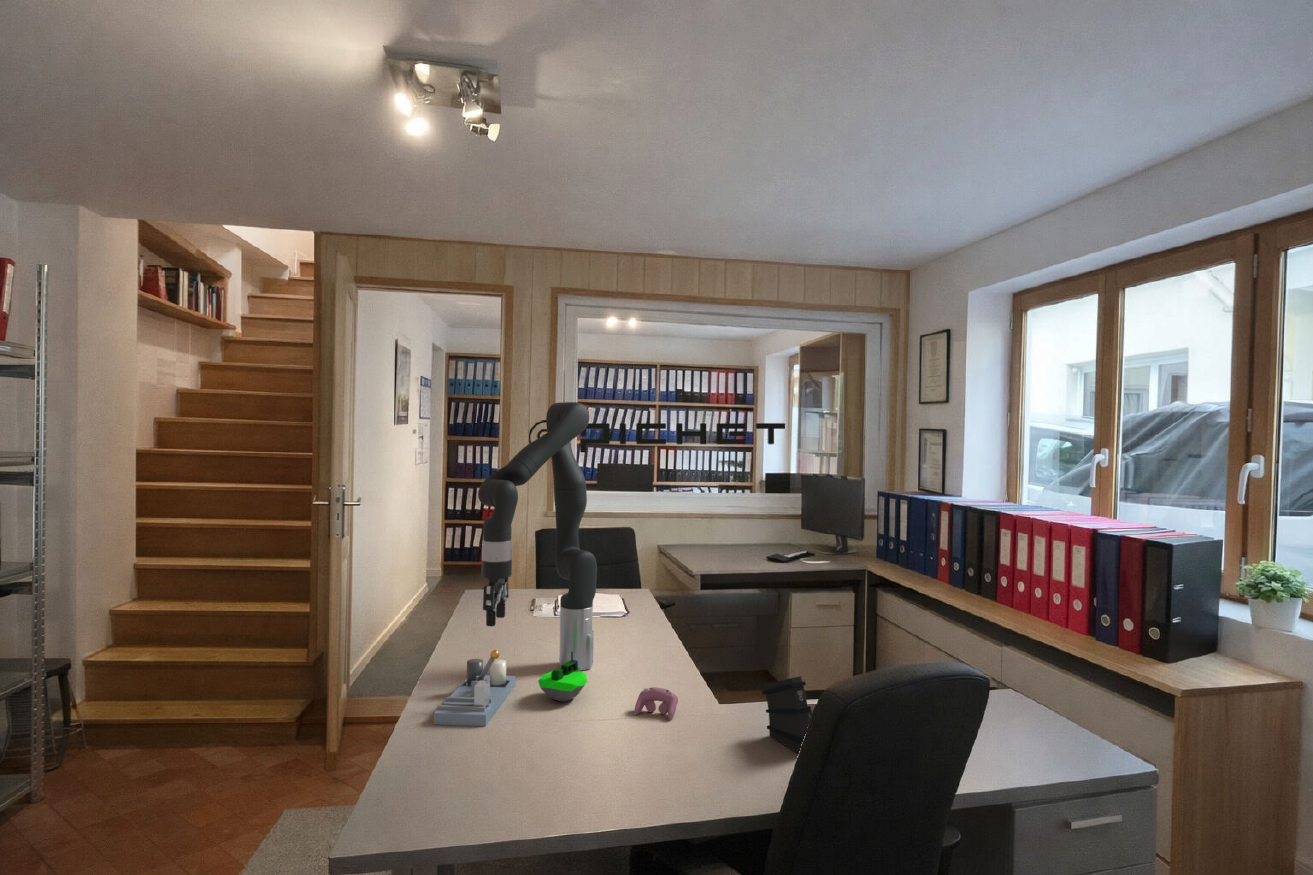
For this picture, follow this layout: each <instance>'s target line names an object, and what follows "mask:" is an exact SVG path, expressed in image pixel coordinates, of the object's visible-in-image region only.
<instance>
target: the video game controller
mask: <svg viewBox="0 0 1313 875" xmlns="http://www.w3.org/2000/svg"><path fill="white" fill-rule="evenodd" d="M656 701H658V702H661V703H660V704H659V706H658V712H659V713H660V714H662V715H666V714H667V719H668V721H671V720H673V719H674V717H675V714H676V710H677V705H678V702H679V698H678V696H677V695H676V694H675V693H674V692H673V691H671V690H669V689H666V688H663V687H657V686H655V687H653V686H652V687H646V688H643V690H642V691H640V693H639V695H638V697H637V700H636V703H635V706H634V714H635V716H638V715H639V714H641V713H642V710H643V708H644V706H645V710H647V712H649V713H654V712H655V711H657V704H656Z"/></svg>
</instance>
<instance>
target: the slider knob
mask: <svg viewBox="0 0 1313 875" xmlns="http://www.w3.org/2000/svg"><path fill="white" fill-rule="evenodd" d="M489 702H490V681H482V680H480V681H479V682H478V683H477V684H476V685H475V686H474V706H476V707H486V706H487V705H488V703H489Z"/></svg>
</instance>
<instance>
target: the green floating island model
mask: <svg viewBox="0 0 1313 875" xmlns="http://www.w3.org/2000/svg"><path fill="white" fill-rule="evenodd" d="M579 669H580V668H579V667H578V661H577V660H573V652H571V660H570V661H568V662H566V663H564V664H562V665H561V668H553V669H552V671H549V672H546V673H544V674H542V675H541V676H540V677H539V679H538V681H537V682H538V684H539V687H540V689H541V690H542V691H543V693H544V694H546V696H547V698H549V699H550V700H551V699H552V700H555V701H559V702H562V703H566V702H567V701H570V700H573V699H574V698H576V697H577V696H578V695H579V694H580V693H581V691H582V689H583V688H584V687H585V686H586V684H587V683H588V676H587V674H586V673H585V672H583V670H579Z"/></svg>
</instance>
